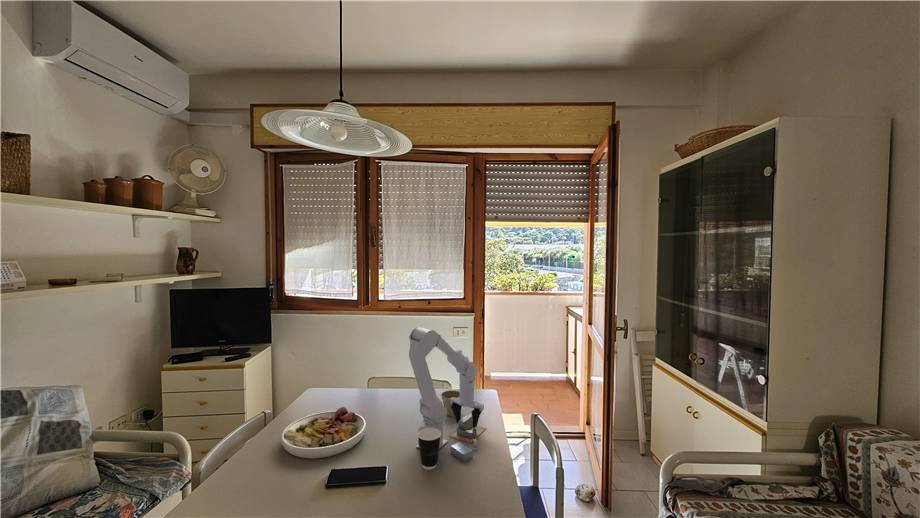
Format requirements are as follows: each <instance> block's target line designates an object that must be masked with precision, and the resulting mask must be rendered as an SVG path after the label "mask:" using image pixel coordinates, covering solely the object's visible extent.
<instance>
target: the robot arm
mask: <svg viewBox="0 0 920 518" xmlns="http://www.w3.org/2000/svg"><path fill="white" fill-rule="evenodd" d="M408 339H409V351H408V357H409V359H408V360H409V361H410V364H411V368H412V370H413V371H412V372H413V374H414V377H415V381H416V384H417V387H418V389H419V393H420V396H421V398H420V399H419V401H418V402H419V412H420V413H419V414H421V415H422V419H423V423H422V424H421V426H420V427H419V429H418V430H417V433H418V432H419V431H420V430H422V429H425V428H435V429H438V430H440V432H441V436H440V443H439V449H440V448H442V447H443V446H445V445H446V444H447V443H448V442H449V441H448V440H447V439H444V422H445V420H446V418H447V417H448V416H447V410H446V408H445V407H444V406H443V401H442V399H440V398H439V397H438V395H437V393H436V392H437V391H436V389H435V386H434V382H433V380H432V375H431V373H430V369H429V366H428V363H427V362H428V361H427V359H426V358H427V356H428V355H429V354H430V353H431V352H432V350H433V349H434V348H437V349H438V350H440V351H441V352H442V353H443V354H444V355H446V360H447V361H448V362H449V363H450V364H451V366H453V367H454V368H455V369H456V372H457V373H459V375H458V376H459V390H458V391H459V397H460V398H455V397H452V398H450V403H451V404H452V405H451V409H452V410H453V412H454V415H455V416H454V417H455V422H456V423H457V424H459V420H461V419H462V408H463V407H466V408H471V409H472V410H471V411H470V412H471V413H472V418H473V428H475V427H476V426H478V422H479V419H480V415H481V413H482V412H483V411H484V409H485V404H484V403H483V404H482V403H480V402H478V401H476V400H474V399H475V392H474V391H475V387H474V386H475V379H476V374H477V371H478V368H477V365H476V364H475V363H474V362H472V361H470V359H469V357H468V356H465V355H464V353H463V351H462V350H461V349H459V348H458V349H457V348H453V347H452V346H451V345H450V344H449V343H448V342H447V341H446V340H445V339H444V338H443V336H442V335H441V334H439V333H438V332H437V331H436V330H433V329H429V328H425V327H423V326H420V325H419V326H415V327H414V328H413V329H412V330H411V332H410V334H409V336H408ZM415 447H416V448H418V449H420V446H419V437H418V436H417V444H416V446H415Z"/></svg>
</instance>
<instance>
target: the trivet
mask: <svg viewBox="0 0 920 518" xmlns="http://www.w3.org/2000/svg"><path fill="white" fill-rule="evenodd" d="M472 429H476V437H475V438H473V439H472V440H471V439H467V438H464V437H461V436H457V430H456V431H455V432H453V433H452V434H451V435H450V436H449V437H450V438H451V439H452V438H453V439H456V440H458V441H461V442H465V443H468V444H471V443H472V442H474V439H477V438H478V437H480V435H481V434H483V433H484V431H486V430H487V428H486V427H483V426H481V425H477V426H476V427H475V428H472ZM472 429H471V430H472Z"/></svg>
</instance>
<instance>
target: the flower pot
mask: <svg viewBox="0 0 920 518" xmlns="http://www.w3.org/2000/svg"><path fill="white" fill-rule="evenodd" d="M459 391H460V390H454V389H453V390H449V389H448V390H445V391H442V392H441V393H440V397H441V401H442V404H443V406H444V407H445V408H446V410H447V416H446V417H455V415H454V412H453V410H452V409H451V405H452V404H451V403H450V398H452V397H455V398H460V397H459Z"/></svg>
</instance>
